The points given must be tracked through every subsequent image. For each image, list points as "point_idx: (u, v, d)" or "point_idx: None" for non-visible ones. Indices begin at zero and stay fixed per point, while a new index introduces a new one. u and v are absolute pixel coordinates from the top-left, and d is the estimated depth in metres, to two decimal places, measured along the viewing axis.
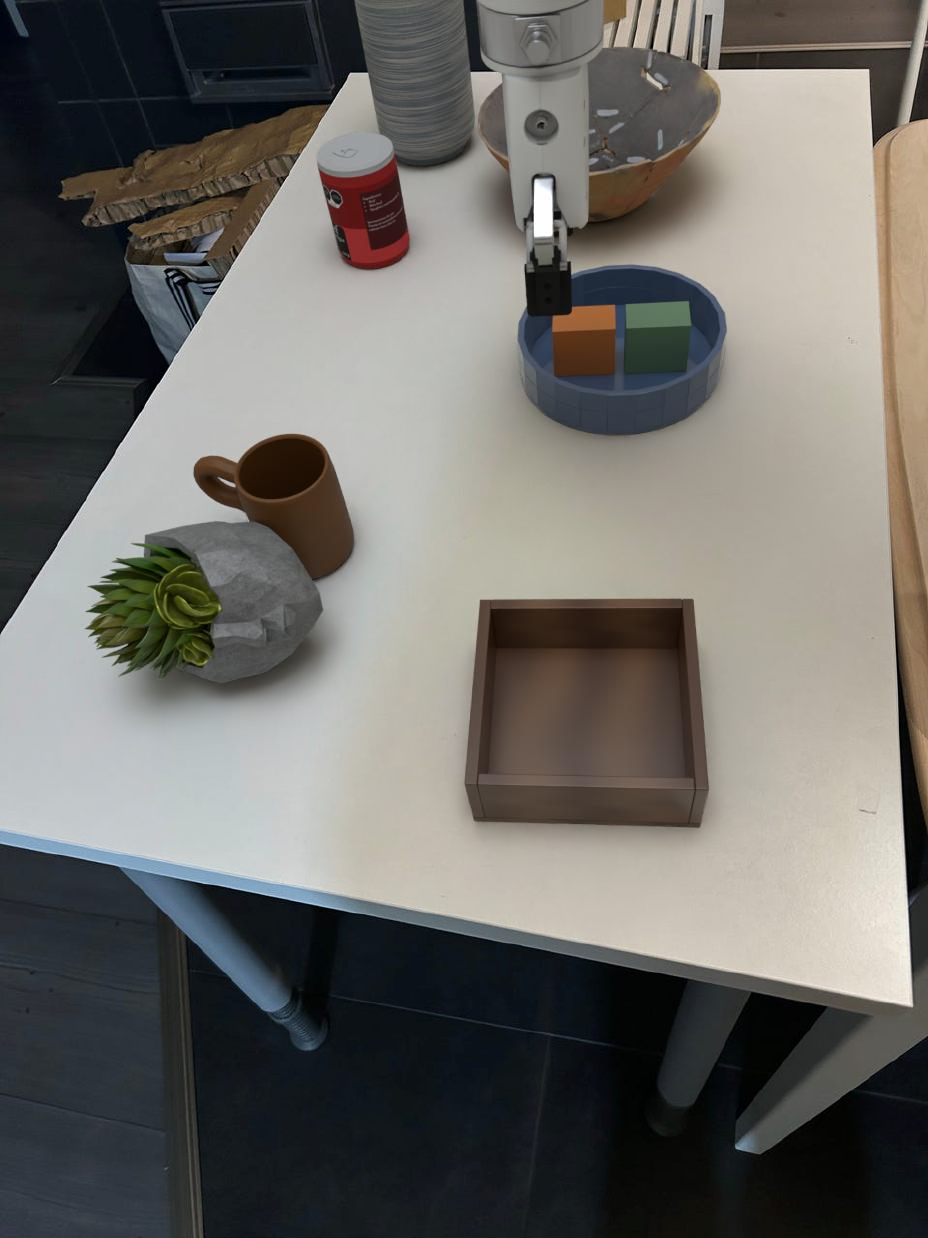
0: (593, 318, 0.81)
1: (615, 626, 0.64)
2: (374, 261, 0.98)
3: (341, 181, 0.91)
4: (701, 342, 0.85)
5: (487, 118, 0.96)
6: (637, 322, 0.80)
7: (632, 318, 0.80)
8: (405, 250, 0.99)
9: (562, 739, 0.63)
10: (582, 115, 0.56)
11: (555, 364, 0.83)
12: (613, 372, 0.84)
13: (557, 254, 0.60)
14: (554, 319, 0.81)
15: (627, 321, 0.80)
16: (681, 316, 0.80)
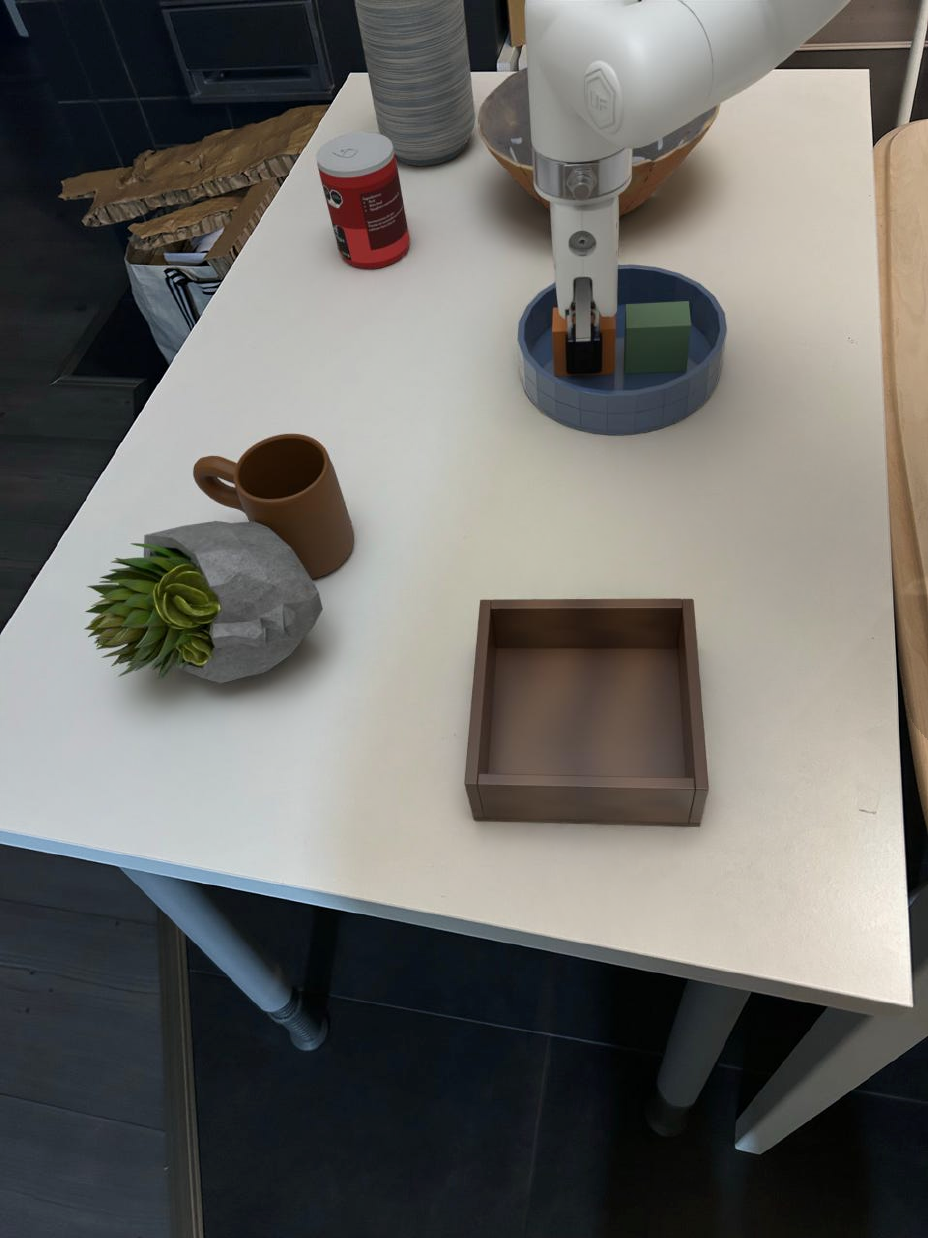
0: (593, 318, 0.81)
1: (615, 626, 0.64)
2: (374, 261, 0.98)
3: (341, 181, 0.91)
4: (701, 342, 0.85)
5: (487, 118, 0.96)
6: (637, 322, 0.80)
7: (632, 318, 0.80)
8: (405, 250, 0.99)
9: (562, 739, 0.63)
10: (615, 234, 0.70)
11: (555, 364, 0.83)
12: (613, 372, 0.84)
13: (593, 330, 0.77)
14: (554, 319, 0.81)
15: (627, 321, 0.80)
16: (681, 316, 0.80)
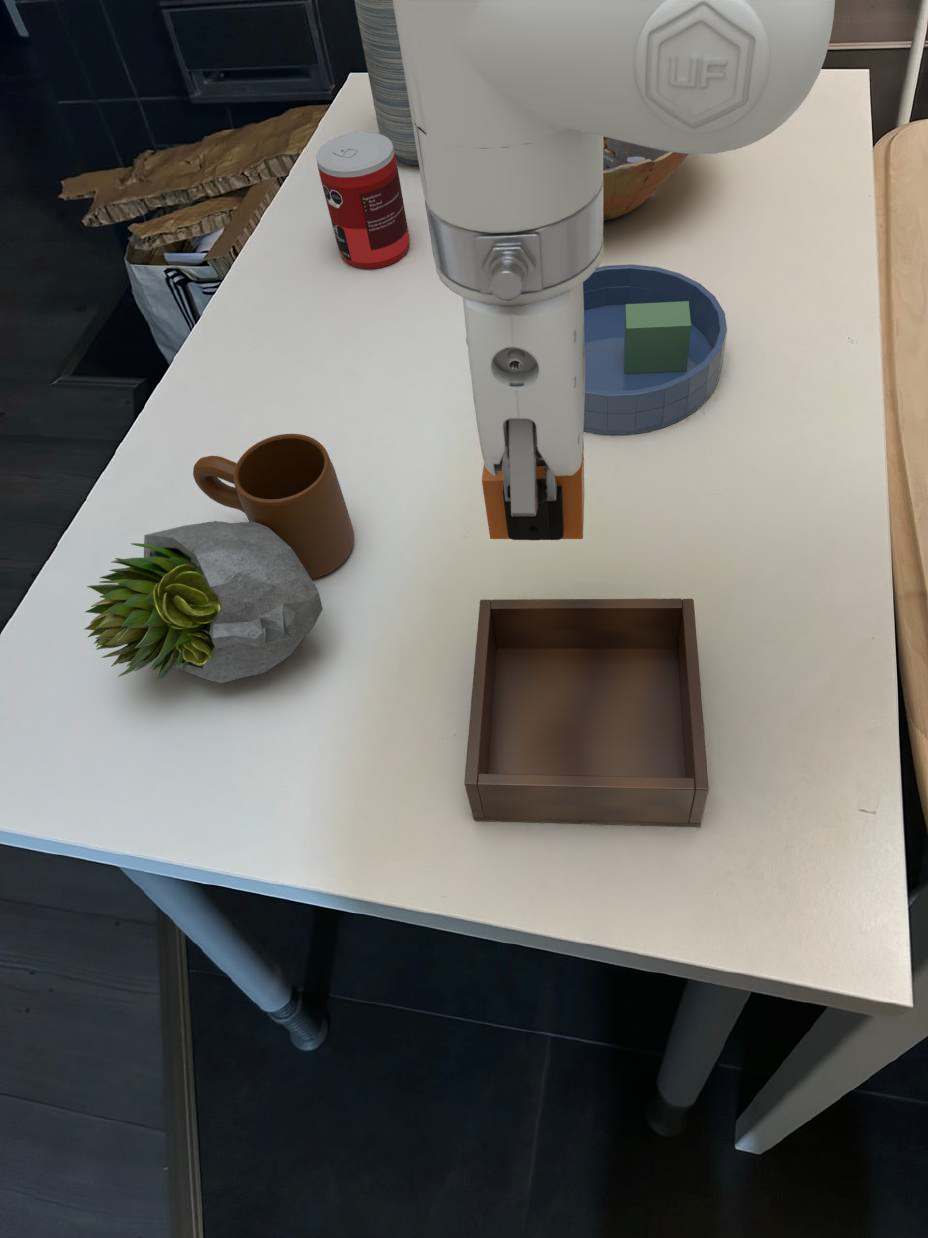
0: None
1: (615, 626, 0.64)
2: (374, 261, 0.98)
3: (341, 181, 0.91)
4: (701, 342, 0.85)
5: None
6: (637, 322, 0.80)
7: (632, 318, 0.80)
8: (405, 250, 0.99)
9: (562, 739, 0.63)
10: (572, 352, 0.40)
11: (490, 524, 0.54)
12: (581, 537, 0.54)
13: (542, 493, 0.47)
14: None
15: (627, 321, 0.80)
16: (681, 316, 0.80)
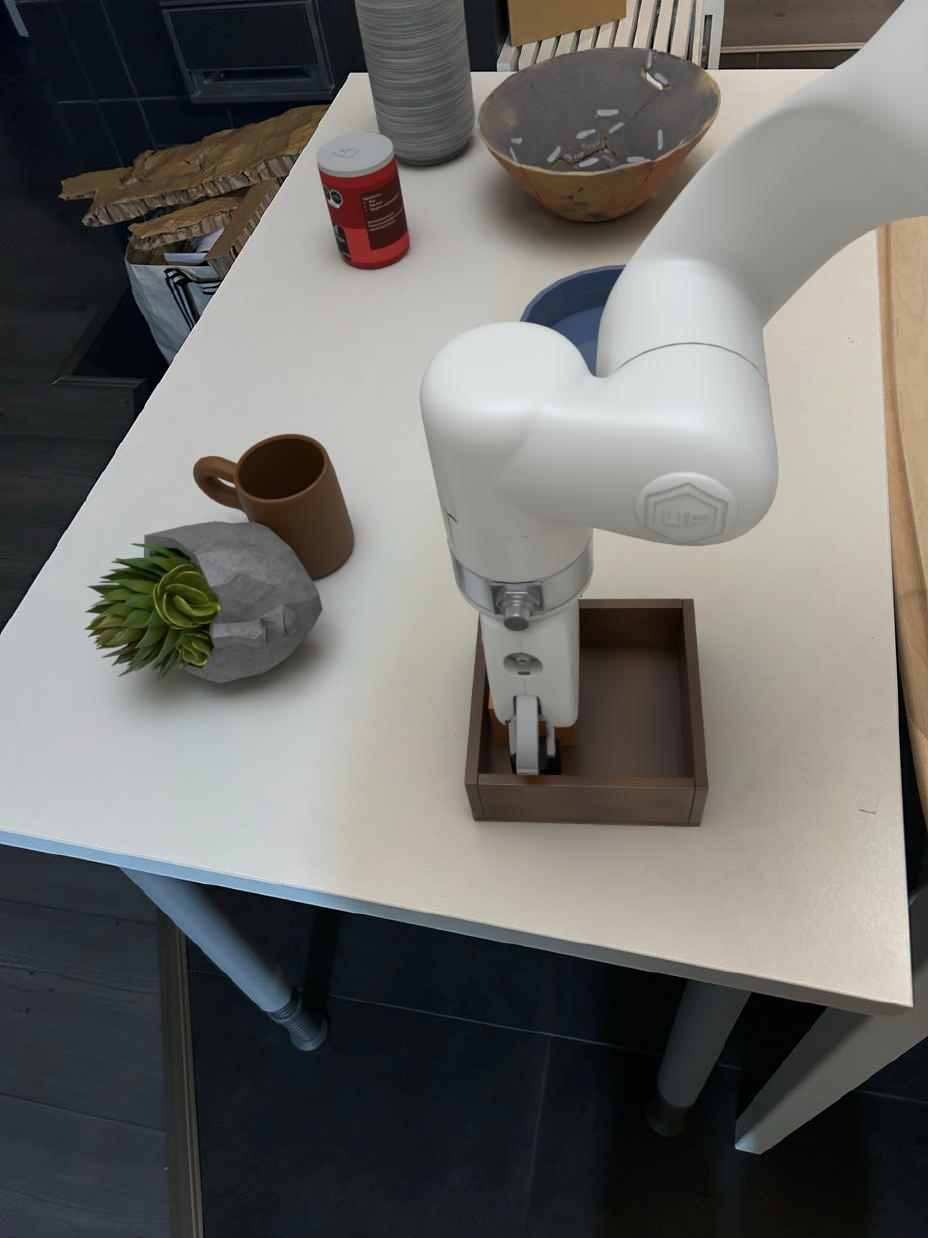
0: None
1: (615, 626, 0.64)
2: (374, 261, 0.98)
3: (341, 181, 0.91)
4: None
5: (487, 118, 0.96)
6: None
7: None
8: (405, 250, 0.99)
9: None
10: (569, 652, 0.49)
11: (495, 735, 0.62)
12: (573, 744, 0.62)
13: (543, 762, 0.53)
14: None
15: None
16: None
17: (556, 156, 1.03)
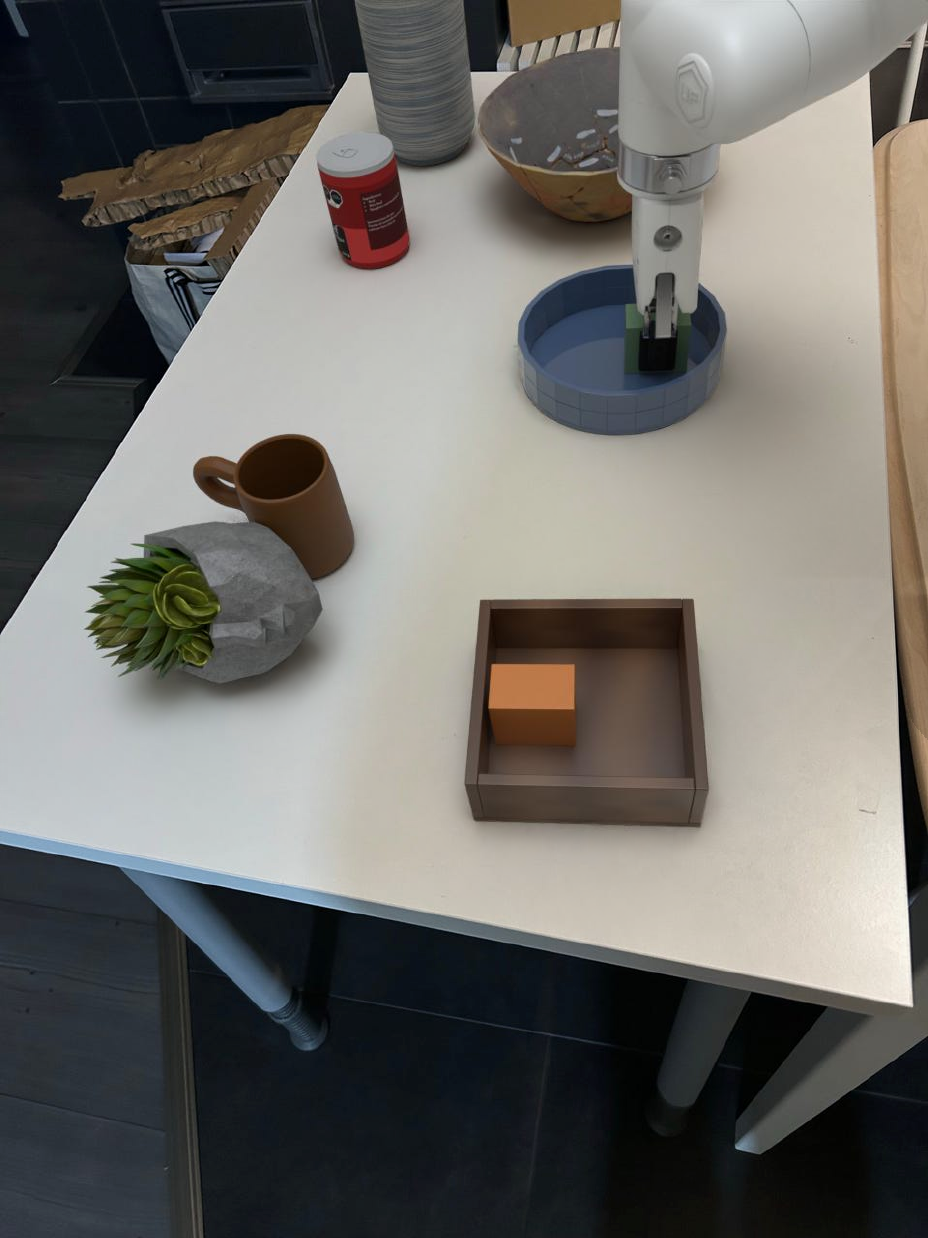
0: (545, 687, 0.60)
1: (615, 626, 0.64)
2: (374, 261, 0.98)
3: (341, 181, 0.91)
4: (701, 342, 0.85)
5: (487, 118, 0.96)
6: (637, 322, 0.80)
7: (632, 318, 0.80)
8: (405, 250, 0.99)
9: None
10: (701, 229, 0.69)
11: (495, 735, 0.62)
12: (573, 744, 0.62)
13: (671, 327, 0.76)
14: (492, 686, 0.60)
15: (627, 321, 0.80)
16: (681, 316, 0.80)
17: (556, 156, 1.03)
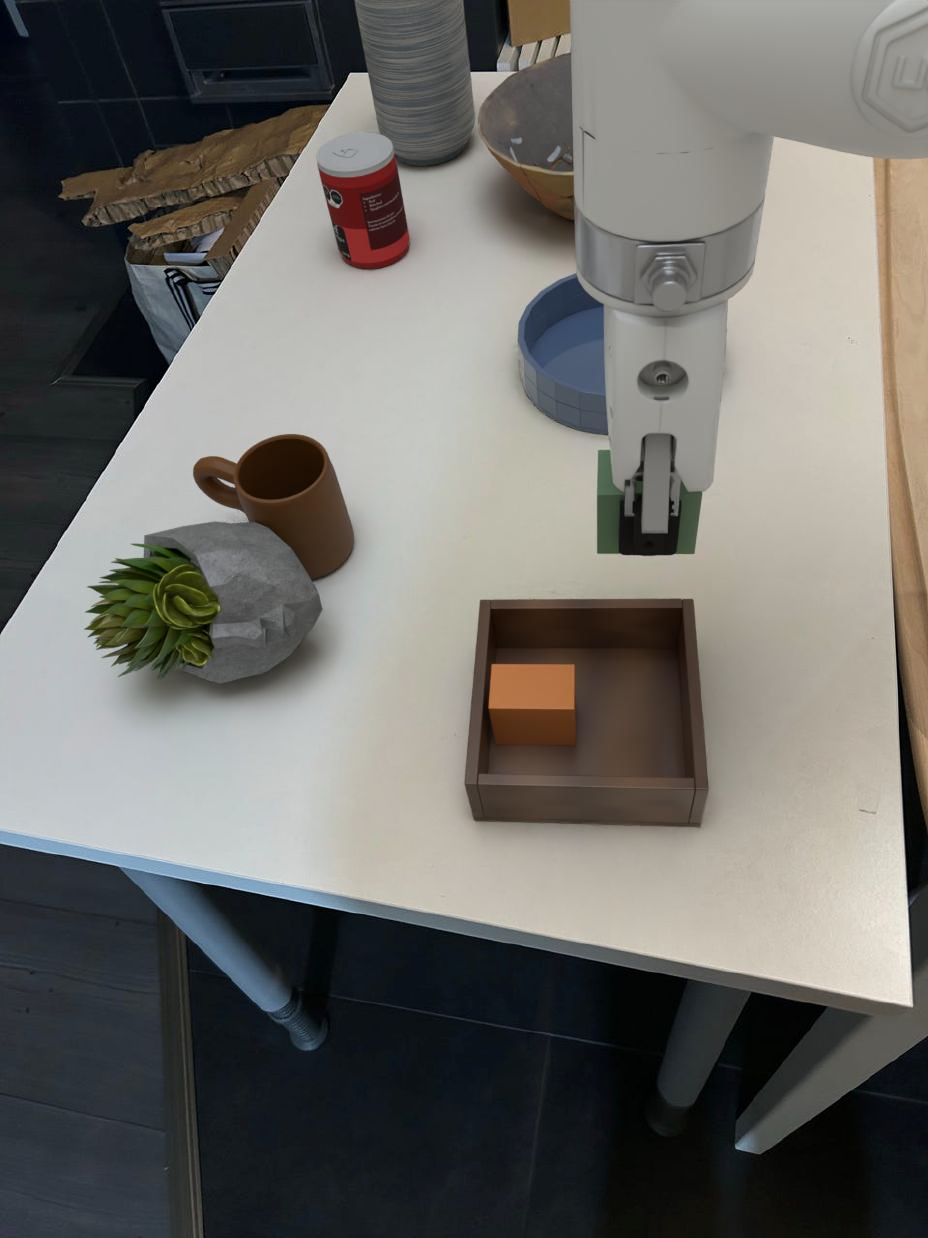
0: (545, 687, 0.60)
1: (615, 626, 0.64)
2: (374, 261, 0.98)
3: (341, 181, 0.91)
4: None
5: (487, 118, 0.96)
6: None
7: (607, 476, 0.50)
8: (405, 250, 0.99)
9: None
10: (722, 365, 0.39)
11: (495, 735, 0.62)
12: (573, 744, 0.62)
13: (669, 509, 0.45)
14: (492, 686, 0.60)
15: (599, 482, 0.50)
16: None
17: (556, 156, 1.03)
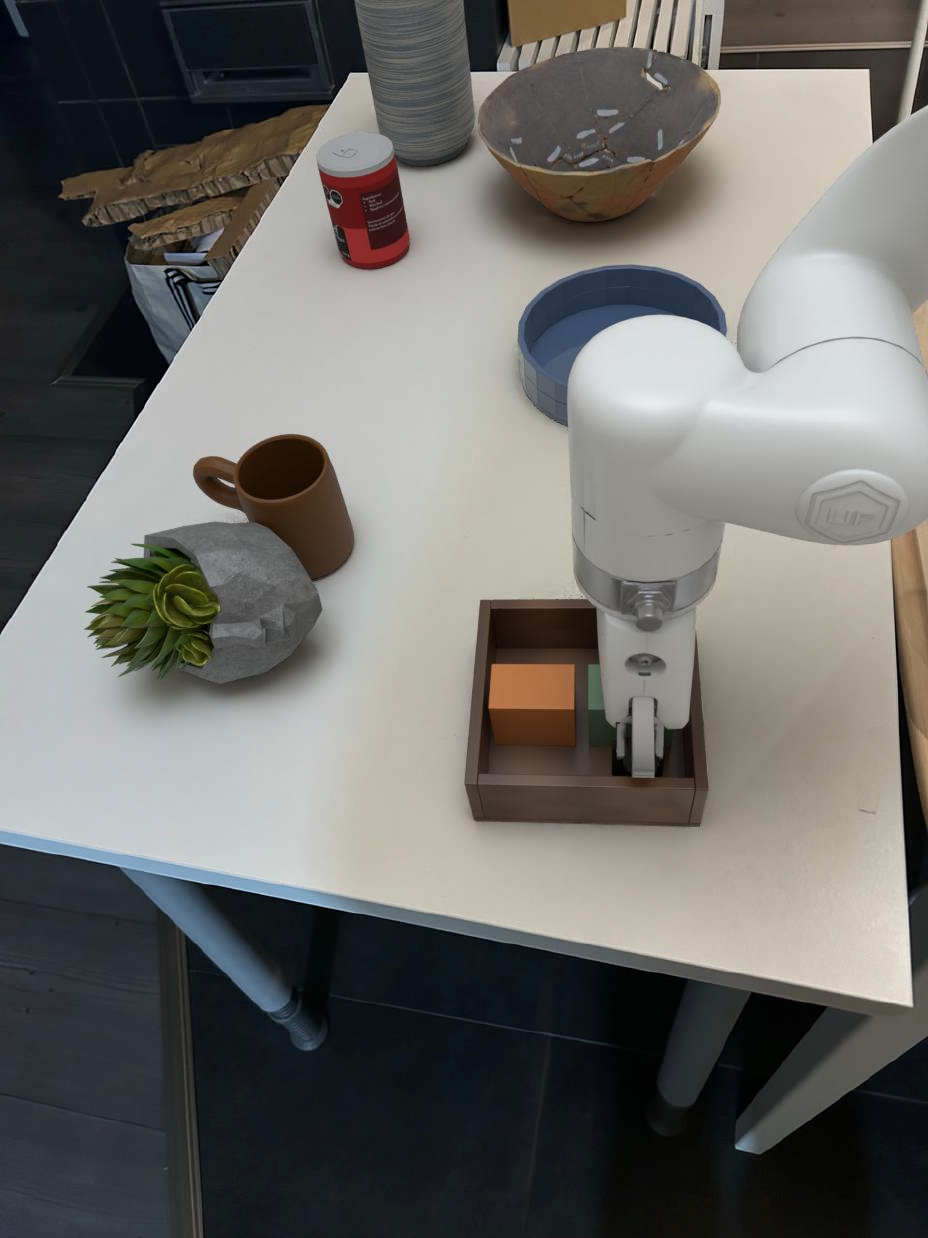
0: (545, 687, 0.60)
1: None
2: (374, 261, 0.98)
3: (341, 181, 0.91)
4: None
5: (487, 118, 0.96)
6: (603, 700, 0.58)
7: (596, 691, 0.59)
8: (405, 250, 0.99)
9: None
10: (693, 652, 0.48)
11: (495, 735, 0.62)
12: (573, 744, 0.62)
13: (655, 765, 0.53)
14: (492, 686, 0.60)
15: (590, 697, 0.59)
16: None
17: (556, 156, 1.03)
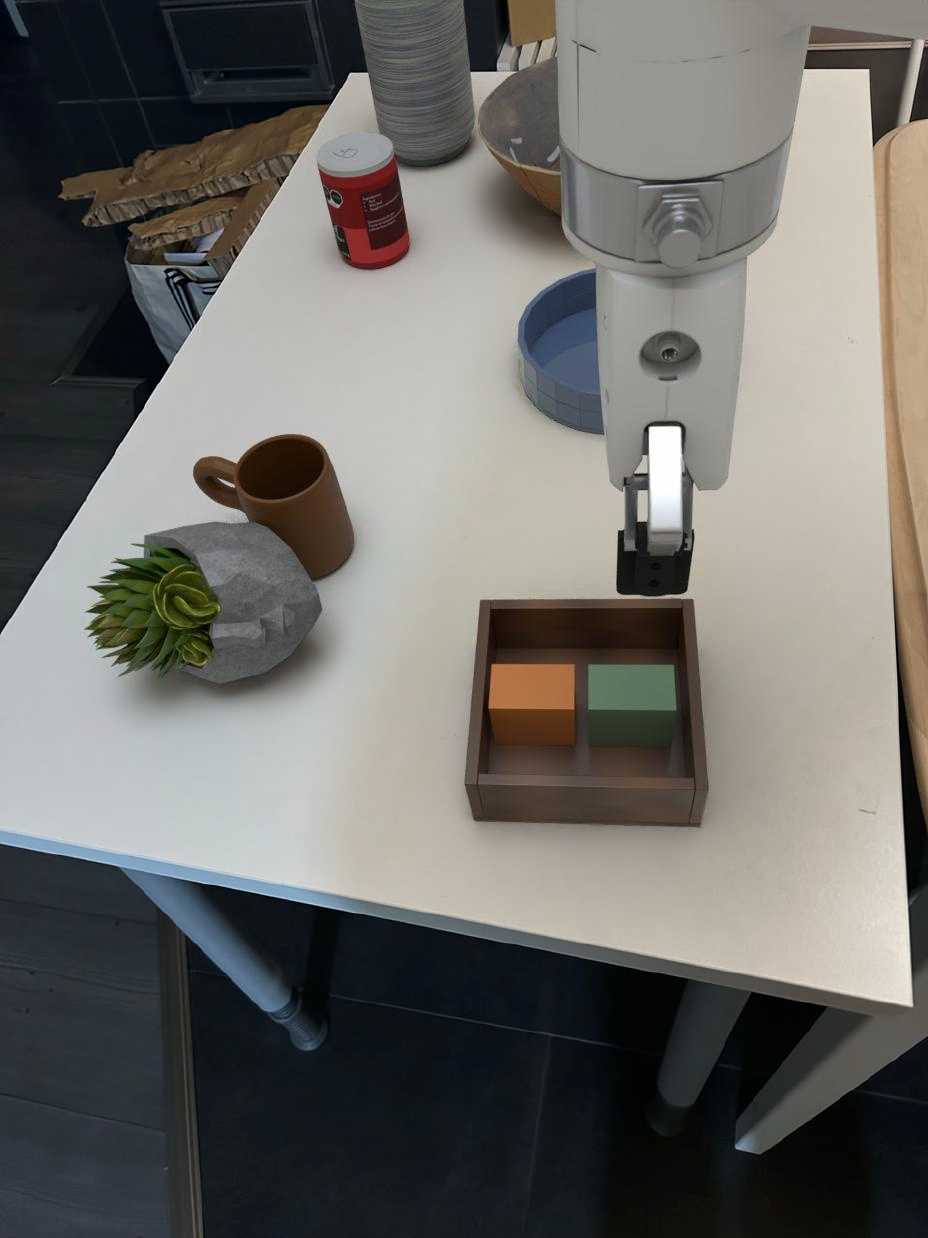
0: (545, 687, 0.60)
1: (615, 626, 0.64)
2: (374, 261, 0.98)
3: (341, 181, 0.91)
4: None
5: (487, 118, 0.96)
6: (603, 700, 0.58)
7: (596, 691, 0.59)
8: (405, 250, 0.99)
9: None
10: (742, 336, 0.32)
11: (495, 735, 0.62)
12: (573, 744, 0.62)
13: (682, 543, 0.36)
14: (492, 686, 0.60)
15: (590, 697, 0.59)
16: (664, 693, 0.58)
17: (556, 156, 1.03)
